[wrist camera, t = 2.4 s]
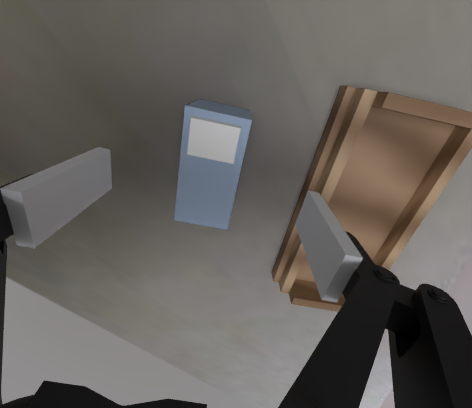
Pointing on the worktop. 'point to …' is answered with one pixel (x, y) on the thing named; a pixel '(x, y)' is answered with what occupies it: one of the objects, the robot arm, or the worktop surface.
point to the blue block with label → (210, 162)
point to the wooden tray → (375, 178)
